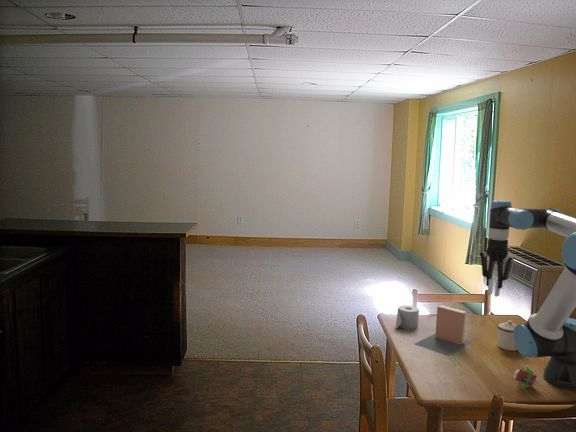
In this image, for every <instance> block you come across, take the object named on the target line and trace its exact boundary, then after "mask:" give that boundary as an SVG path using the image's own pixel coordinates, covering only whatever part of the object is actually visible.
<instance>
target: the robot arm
mask: <svg viewBox="0 0 576 432" xmlns="http://www.w3.org/2000/svg"><path fill="white" fill-rule="evenodd" d="M489 212H490V213H489V227H488V239H487V249H486V250H485V251H482V252H479V255H480V258H481V274H482V276H483V277H485V278H486V283H485V285H486V286H487V287H488V288H487V295H488V296H490V295H492V294H493V289H494V287H495V289H494V297H495V298H497V297H499V296H500V290H501V289H502V288H503V281H506V280H509V275H510V272H511V266H512V263H513V262H514V260H515V257H514V256H511V255H509V252H508V248H509V247H508V246H509V240H508V239H509V236H510V228H513V229H515V230H522V231H526V230H528V229H545V230H547V231H549V232H553V233H555V234H557V235H560V236H563V237H566V238H565V239H564V242H563V243H562V246H561V251H562V252H561V257H562V262H563V266H564V269H563V270H562V272H561V274H560V275H559V277H558V279H557V280H556V281H555V283H554V285H553V286H552V288H551V290H550V292H549V293H548V295H547V297H546V299H545V300H544V301H543V304H542V305H541V306H540V309H539V310H538V311H537V312H536V313H535V312H534V313H532V314H531V315H530V316H529V317H528V319H527V320H526V322H525V323H518V324H515V325H516V326H515V328H514V332H513V337H514V342H515V345H516V347H517V349H518V350H517V351H518V352H519V354H521V355H522V356H523V357H525V358H533V359H535V358H543V357H544V358H545V357H549V360H548V362H547V364H546V366H545V368H544V370H543V374H542V375H543V378H544V380H545V381H546V382H548V383H550V384H551V385H553V386H555V385H556V386H555V387H558V388H561V387H562V388H561V389H564V388H566V389H565V390H569V389H570V390H569V391H576V319H575V318H571V317H570V316H571V315H572V313H573V312H574V310H575V309H576V217H574V216H570V215H567V214H564V213H563V211H562V210H561V209H558V208H551V207H550V208H549V207H548V208H517V207H512V202H511V201H509V200H504V199H501V200H500V199H495V200H492V201H491V204H490V209H489ZM487 257H488V258H489V261H488V258H487ZM504 260H506V263H505V266H504ZM495 264H496V265H497V279H496V280H495V286H494V278H493V273H494V268H495Z"/></svg>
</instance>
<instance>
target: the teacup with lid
mask: <svg viewBox="0 0 576 432" xmlns="http://www.w3.org/2000/svg"><path fill="white" fill-rule="evenodd" d="M516 325H517V324H515V323H514V322H513V320H511V319H509V320H507V321H506V322H501V323H499V324H498V325H497V339H496V340H497V341H496V346H497V348H498V347H499V348H501V349H503V350H505V351H511V352H513V351H514V352H515V351H518V349H517V347H516V345H515V342H514V337H513V332H514V328H515V326H516Z"/></svg>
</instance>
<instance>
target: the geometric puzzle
mask: <svg viewBox="0 0 576 432" xmlns="http://www.w3.org/2000/svg"><path fill="white" fill-rule="evenodd" d="M513 378H514V380H515V381H517V382H518V384H519V385H520V386H521V387H522V388H523V389H524V390H526V389H528V388H531V387H534V386H535V385H536V381H537V378H538V375H536V374H535V372H534V371H533V370H531V369H530V368H529V367H528V366H527V367H525V369H522V368H520V369H516V370H515V371H514V374H513ZM537 382H538V381H537ZM527 386H528V387H527Z"/></svg>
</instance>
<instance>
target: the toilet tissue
mask: <svg viewBox="0 0 576 432" xmlns="http://www.w3.org/2000/svg"><path fill="white" fill-rule="evenodd" d="M419 312H420V309H419V308H418V307H416V306H413V305H404V304H403V305H399V306H398V308H397V314H396V320H395V321H396V322H395V329H396V328H397V329H398V328H400V327H402V328H401V329H403V328H404V329H409V330H412V329H417V328H418V326H419V317H420V316H419Z"/></svg>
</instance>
